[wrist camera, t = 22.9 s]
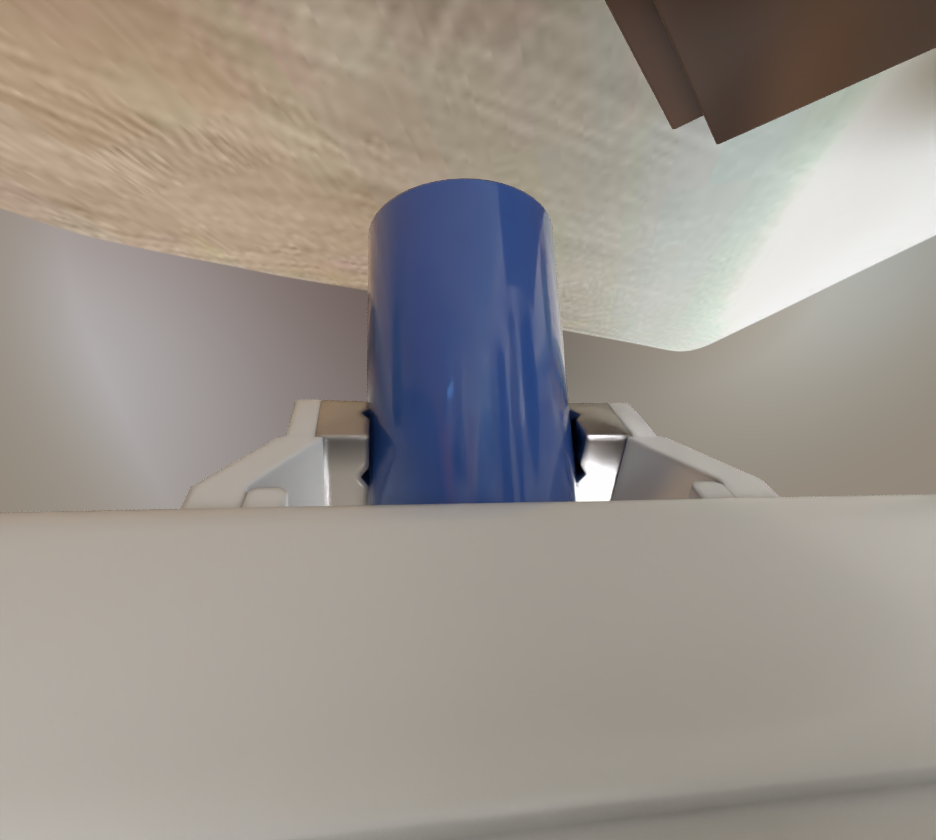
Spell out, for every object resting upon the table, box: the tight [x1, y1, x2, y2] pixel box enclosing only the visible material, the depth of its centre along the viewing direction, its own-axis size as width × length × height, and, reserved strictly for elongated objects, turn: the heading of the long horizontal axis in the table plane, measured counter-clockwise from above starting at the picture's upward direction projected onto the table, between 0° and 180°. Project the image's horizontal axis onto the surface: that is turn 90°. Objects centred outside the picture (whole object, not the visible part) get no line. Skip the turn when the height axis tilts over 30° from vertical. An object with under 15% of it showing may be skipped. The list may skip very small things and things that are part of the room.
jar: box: [367, 178, 578, 505], centre depth 12 cm, size 4×4×8 cm
